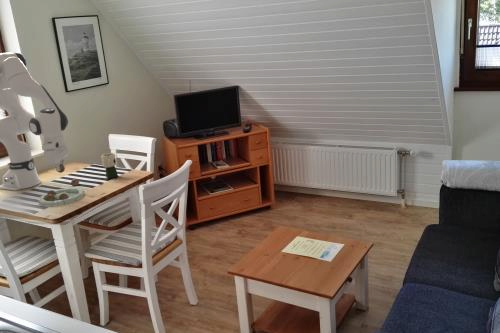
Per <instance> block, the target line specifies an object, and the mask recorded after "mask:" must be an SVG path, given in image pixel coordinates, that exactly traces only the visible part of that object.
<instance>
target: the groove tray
mask: <svg viewBox="0 0 500 333" xmlns="http://www.w3.org/2000/svg"><path fill="white" fill-rule="evenodd" d="M54 191H55V192H56V195H55V196H54V197H55V200H54V201H47V200H46V196H47V193H48V192H46V193H44V194H43V195H42V194H41V195H40V197H39V198H38V204H39V205H40V206H42V207H58V206H65V205H67V204H71V203H75V202H77V201H78V200H80V199H82V198H83V197H84V196H85V191H84V189H83V188H81V187H64V188H60V189H55V190H54ZM62 193H65V194H67V195H68V198H67V199H64V200H60V199H59V196H60V194H62Z"/></svg>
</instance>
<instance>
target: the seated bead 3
mask: <svg viewBox="0 0 500 333" xmlns="http://www.w3.org/2000/svg"><path fill="white" fill-rule="evenodd" d="M67 198H68V195H67V194H65V193H62V194H60V196H59V199H60V200H64V199H67Z"/></svg>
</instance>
